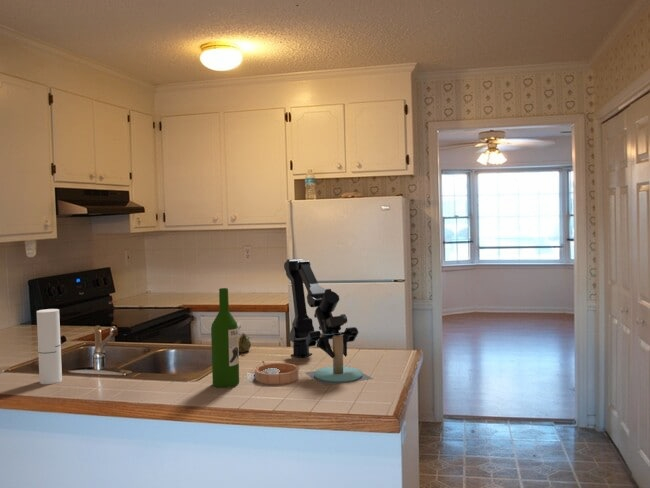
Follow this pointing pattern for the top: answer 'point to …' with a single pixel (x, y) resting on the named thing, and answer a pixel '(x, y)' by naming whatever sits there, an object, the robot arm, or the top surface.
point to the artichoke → (244, 343)
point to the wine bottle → (224, 345)
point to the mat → (336, 382)
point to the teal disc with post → (338, 366)
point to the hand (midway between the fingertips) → (339, 356)
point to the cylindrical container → (49, 346)
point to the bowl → (285, 375)
